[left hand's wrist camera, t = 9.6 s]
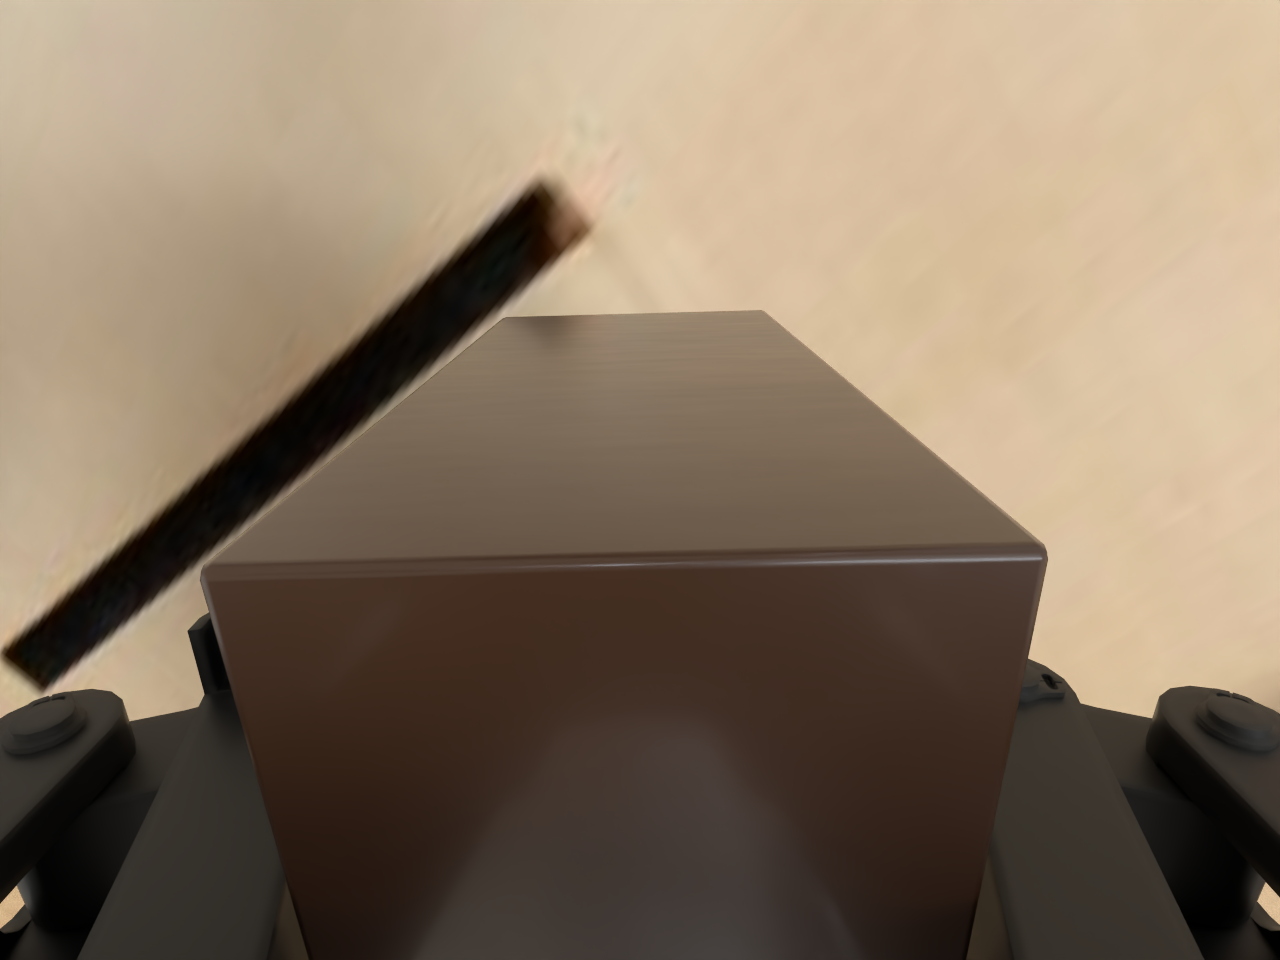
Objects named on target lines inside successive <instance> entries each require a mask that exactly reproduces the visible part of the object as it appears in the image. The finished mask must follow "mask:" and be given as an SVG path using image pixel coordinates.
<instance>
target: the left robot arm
mask: <svg viewBox="0 0 1280 960" xmlns="http://www.w3.org/2000/svg"><path fill="white" fill-rule="evenodd" d="M188 634H189V638H190V642H191V645H192V649H193V653H194V656H195V660H196V664H197V667H198V671H199V675H200V679H201V682H202V686H203V690H204V693H205V695H204V697H203V699H202V701H201V703H200V705H199V707H197V708H193V709H189V710H185V711H180V712H175V713H170V714H165V715H160V716H155V717H150V718H145V719H140V720H135V721H130V722H129V719H128V716H127V713H126V709H125V706H124V703H123V700H122V699H121V698H119V697H118V696H117V695H115V694H114V693H113V692H111V691H103V690H96V689H88V690H79V691H71V692H63V693H58V694H54V695H52V696H51V697H49V696H47V697H44V698H41V699H38V700H35V701H33V702H31V703H29V704H28V705H26V706H24V707H22V708H19V709H17V710H15V711H13V712H11V713H8V714H7V715H5V716H4V717H2V718H1V719H0V903H1V902H2V901H3V900H4V899H5V898H6V897H7V895H8V894H9V893H10V892H11V891H12V890H13V889H14V888H15V887H16V885H17V887H18V889H19V892H20V894H21V896H22V898H23V901H24V903H25V905H24V906H23V907H22V908H21V909H20V910H19V912H18V913H17V914H16V915H15V916H14V917H13V919H11V920H10V921H9V922H8V923H7V924H5V925H4V926H3V927H2V928H1V929H0V960H309V959H308V955H307V952H306V948H305V945H304V941H303V938H302V934H301V931H300V927H299V924H298V920H297V917H296V913H295V910H294V906H293V903H292V899H291V896H290V892H289V889H288V885H287V882H286V878H285V875H284V871H283V868H282V864H281V861H280V857H279V854H278V850H277V847H276V843H275V840H274V836H273V833H272V830H271V826H270V823H269V819H268V816H267V812H266V809H265V805H264V802H263V798H262V795H261V791H260V788H259V784H258V781H257V777H256V774H255V770H254V767H253V763H252V760H251V756H250V753H249V749H248V746H247V742H246V739H245V735H244V732H243V728H242V725H241V721H240V718H239V714H238V711H237V707H236V704H235V700H234V697H233V693H232V690H231V686H230V683H229V679H228V676H227V672H226V669H225V665H224V662H223V658H222V655H221V652H220V648H219V645H218V641H217V638H216V634H215V631H214V627H213V624H212V620H211V617H210V613H207V614H206V615H204V616H202V617H201V618H199V619H198V620H197V622H196V623H195V624H194V625H193V626H192V627H191V628H190V629H189V630H188ZM1265 882H1266V883H1267V884H1268V885H1269V886H1270V887H1271V888H1272V889H1273V890H1274V891H1275V893H1276V894H1277V895H1278V896H1279V897H1280V714H1279V713H1277V712H1276V711H1274V710H1272V709H1270V708H1268V707H1265V706H1263V705H1261V704H1259V703H1256V702H1254V701H1253V700H1251V699H1250V698H1248V697H1245V696H1242V695H1239V694H1236V693H1233V694H1232V693H1230V692H1229V691H1225V690H1220V689H1214V688H1213V689H1212V688H1204V687H1195V686H1185V687H1177V688H1170V689H1169V690H1167V691H1166V692H1165V693H1163V694H1162V695H1161V696H1159V699H1158V702H1157V706H1156V709H1155V712H1154V715H1153V718H1147V717H1142V716H1137V715H1131V714H1126V713H1121V712H1116V711H1111V710H1106V709H1101V708H1096V707H1092V706H1088V705H1085V704H1081V703H1080V702H1079V700H1078V698H1077V696H1076V693H1075V692H1074V691H1073V690H1072V688H1071V687H1070V686H1069V685H1068V683H1067V682H1066V681H1065V680H1064V679H1063V678H1062V677H1060V676H1059V675H1058V674H1056V673H1055V672H1053V671H1052V670H1050V669H1049V668H1047V667H1046V666H1044V665H1042V664H1039V663H1037V662H1035V661H1032V660H1030V659H1028V660H1027V664H1026V669H1025V674H1024V679H1023V684H1022V689H1021V694H1020V699H1019V704H1018V708H1017V713H1016V718H1015V723H1014V728H1013V733H1012V738H1011V743H1010V748H1009V752H1008V757H1007V762H1006V767H1005V772H1004V777H1003V782H1002V787H1001V792H1000V796H999V801H998V806H997V811H996V816H995V821H994V826H993V831H992V836H991V840H990V845H989V850H988V855H987V860H986V865H985V870H984V875H983V880H982V884H981V889H980V894H979V899H978V904H977V909H976V914H975V919H974V924H973V928H972V933H971V938H970V943H969V948H968V953H967V958H966V960H1280V925H1279V924H1278V923H1277V922H1276V921H1275V920H1274V919H1272V918H1271V917H1270V916H1269V915H1268V913H1267V912H1266V911H1265V910H1264V909H1263V908H1262V907H1261V905H1260V904H1259V903H1258V902H1257V900H1258V898H1259V896H1260V893H1261V891H1262V889H1263V887H1264V884H1265Z"/></svg>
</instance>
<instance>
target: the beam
mask: <svg viewBox="0 0 1280 960" xmlns="http://www.w3.org/2000/svg"><path fill="white" fill-rule="evenodd" d="M1047 562H1048V557H1047V551H1046V548H1045V546H1044V544H1043V543H1042V542H1040V541H1039V540H1038V539H1037V538H1036V537H1034V536H1033V535H1032V534H1031V533H1030V532H1028V531H1027V530H1026V529H1025V528H1024V527H1022V526H1021V525H1020V524H1019V523H1018V522H1016V521H1015V520H1014V519H1013V518H1012V517H1010V516H1009V515H1008V514H1007V513H1006V512H1004V511H1003V510H1002V509H1001V508H1000V507H998V506H997V505H996V504H995V503H994V502H992V501H991V500H990V499H989V498H988V497H986V496H985V495H984V494H983V493H982V492H980V491H979V490H978V489H977V488H976V487H974V486H973V485H972V484H971V483H970V482H968V481H967V480H966V479H965V478H964V477H962V476H961V475H960V474H959V473H958V472H956V471H955V470H954V469H953V468H952V467H950V466H949V465H948V464H947V463H946V462H944V461H943V460H942V459H941V458H940V457H938V456H937V455H936V454H935V453H934V452H932V451H931V450H930V449H929V448H928V447H926V446H925V445H924V444H923V443H922V442H920V441H919V440H918V439H917V438H916V437H914V436H913V435H912V434H911V433H910V432H908V431H907V430H906V429H905V428H904V427H902V426H901V425H900V424H899V423H898V422H896V421H895V420H894V419H893V418H892V417H890V416H889V415H888V414H887V413H886V412H884V411H883V410H882V409H881V408H880V407H878V406H877V405H876V404H875V403H874V402H872V401H871V400H870V399H869V398H868V397H866V396H865V395H864V394H863V393H862V392H860V391H859V390H858V389H857V388H856V387H854V386H853V385H852V384H851V383H850V382H848V381H847V380H846V379H845V378H844V377H842V376H841V375H840V374H839V373H838V372H836V371H835V370H834V369H833V368H832V367H830V366H829V365H828V364H827V363H826V362H824V361H823V360H822V359H821V358H820V357H818V356H817V355H816V354H815V353H814V352H812V351H811V350H810V349H809V348H808V347H806V346H805V345H804V344H803V343H802V342H800V341H799V340H798V339H797V338H796V337H794V336H793V335H792V334H791V333H790V332H788V331H787V330H786V329H785V328H784V327H782V326H781V325H780V324H779V323H778V322H776V321H775V320H774V319H773V318H772V317H770V316H769V315H768V314H767V313H766V312H764V311H762V310H755V311H718V312H682V313H646V314H609V315H573V316H537V317H506V318H503V319H502V320H501V321H499V322H498V323H497V324H496V325H495V326H493V327H492V328H491V329H490V330H489V331H487V332H486V333H485V334H484V335H482V336H481V337H480V338H479V339H478V340H476V341H475V342H474V343H473V344H472V345H470V346H469V347H468V348H467V349H465V350H464V351H463V352H462V353H461V354H459V355H458V356H457V357H456V358H455V359H453V360H452V361H451V362H450V363H448V364H447V365H446V366H445V367H444V368H442V369H441V370H440V371H439V372H438V373H436V374H435V375H434V376H433V377H432V378H430V379H429V380H428V381H427V382H425V383H424V384H423V385H422V386H421V387H419V388H418V389H417V390H416V391H415V392H413V393H412V394H411V395H410V396H408V397H407V398H406V399H405V400H404V401H402V402H401V403H400V404H399V405H398V406H396V407H395V408H394V409H393V410H392V411H390V412H389V413H388V414H387V415H385V416H384V417H383V418H382V419H381V420H379V421H378V422H377V423H376V424H375V425H373V426H372V427H371V428H370V429H368V430H367V431H366V432H365V433H364V434H362V435H361V436H360V437H359V438H358V439H356V440H355V441H354V442H353V443H352V444H350V445H349V446H348V447H347V448H345V449H344V450H343V451H342V452H341V453H339V454H338V455H337V456H336V457H335V458H333V459H332V460H331V461H330V462H328V463H327V464H326V465H325V466H324V467H322V468H321V469H320V470H319V471H318V472H316V473H315V474H314V475H313V476H311V477H310V478H309V479H308V480H307V481H305V482H304V483H303V484H302V485H301V486H299V487H298V488H297V489H296V490H295V491H293V492H292V493H291V494H290V495H288V496H287V497H286V498H285V499H284V500H282V501H281V502H280V503H279V504H278V505H276V506H275V507H274V508H273V509H271V510H270V511H269V512H268V513H267V514H265V515H264V516H263V517H262V518H261V519H259V520H258V521H257V522H256V523H255V524H253V525H252V526H251V527H250V528H248V529H247V530H246V531H245V532H244V533H242V534H241V535H240V536H239V537H238V538H236V539H235V540H234V541H233V542H231V543H230V544H229V545H228V546H227V547H225V548H224V549H223V550H222V551H221V552H219V553H218V554H217V555H216V556H215V557H213V558H212V559H211V560H210V561H208V562H207V563H206V564H205V565H204V566H203V568H202V570H201V577H200V582H201V585H202V589H203V592H204V596H205V599H206V603H207V606H208V610H209V613H210V617H211V620H212V624H213V627H214V631H215V634H216V638H217V641H218V645H219V648H220V652H221V655H222V658H223V662H224V665H225V669H226V672H227V676H228V679H229V683H230V686H231V690H232V693H233V697H234V700H235V704H236V707H237V711H238V714H239V718H240V721H241V725H242V728H243V732H244V735H245V739H246V742H247V746H248V749H249V753H250V756H251V760H252V763H253V767H254V770H255V774H256V777H257V781H258V784H259V788H260V791H261V795H262V798H263V802H264V805H265V809H266V812H267V816H268V819H269V823H270V826H271V830H272V833H273V836H274V840H275V843H276V847H277V850H278V854H279V857H280V861H281V864H282V868H283V871H284V875H285V878H286V882H287V885H288V889H289V892H290V896H291V899H292V903H293V906H294V910H295V913H296V917H297V920H298V924H299V927H300V931H301V934H302V938H303V941H304V945H305V948H306V952H307V955H308V959H309V960H966V958H967V953H968V948H969V943H970V938H971V933H972V928H973V924H974V919H975V914H976V909H977V904H978V899H979V894H980V889H981V884H982V880H983V875H984V870H985V865H986V860H987V855H988V850H989V845H990V840H991V836H992V831H993V826H994V821H995V816H996V811H997V806H998V801H999V796H1000V792H1001V787H1002V782H1003V777H1004V772H1005V767H1006V762H1007V757H1008V752H1009V748H1010V743H1011V738H1012V733H1013V728H1014V723H1015V718H1016V713H1017V708H1018V704H1019V699H1020V694H1021V689H1022V684H1023V679H1024V674H1025V669H1026V664H1027V660H1028V655H1029V650H1030V645H1031V640H1032V635H1033V630H1034V625H1035V620H1036V616H1037V611H1038V606H1039V601H1040V596H1041V591H1042V586H1043V581H1044V576H1045V572H1046V567H1047Z"/></svg>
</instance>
